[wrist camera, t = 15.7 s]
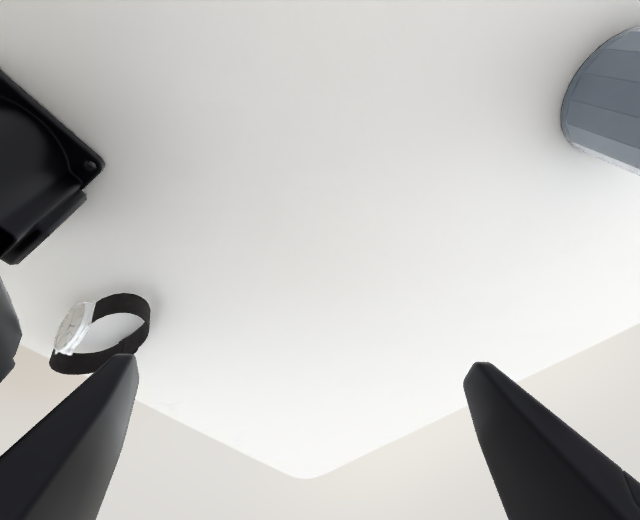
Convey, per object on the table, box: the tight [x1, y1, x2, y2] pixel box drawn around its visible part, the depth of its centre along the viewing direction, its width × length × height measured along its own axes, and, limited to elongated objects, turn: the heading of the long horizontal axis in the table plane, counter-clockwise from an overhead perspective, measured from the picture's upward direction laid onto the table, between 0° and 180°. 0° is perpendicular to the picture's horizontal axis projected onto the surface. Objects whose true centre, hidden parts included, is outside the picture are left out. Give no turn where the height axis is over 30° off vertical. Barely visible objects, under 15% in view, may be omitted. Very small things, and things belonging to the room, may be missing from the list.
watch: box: [49, 293, 150, 375], centre depth 23 cm, size 8×5×4 cm, turn 128°
